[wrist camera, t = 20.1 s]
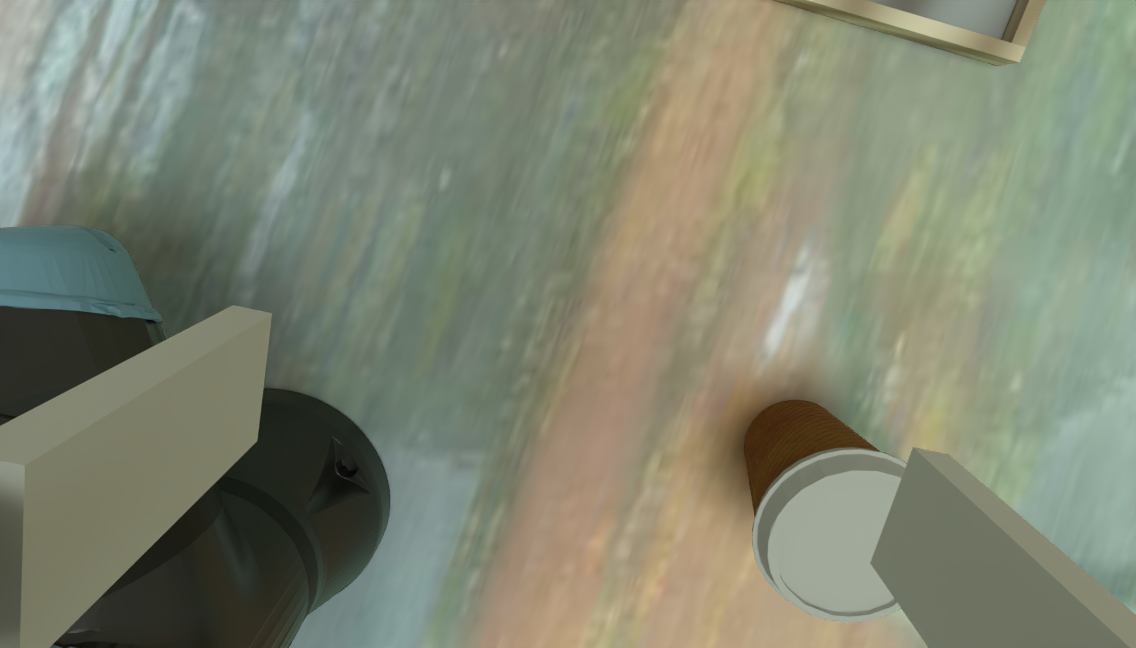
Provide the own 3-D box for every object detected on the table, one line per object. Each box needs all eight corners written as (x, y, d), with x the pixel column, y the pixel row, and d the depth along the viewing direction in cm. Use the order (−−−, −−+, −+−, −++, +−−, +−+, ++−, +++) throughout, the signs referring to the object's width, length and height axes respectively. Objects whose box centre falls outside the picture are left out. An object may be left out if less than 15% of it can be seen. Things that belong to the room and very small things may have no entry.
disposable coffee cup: (758, 353, 46) (812, 432, 34) (893, 408, 46) (992, 503, 35) (695, 479, 48) (725, 592, 37) (824, 529, 49) (894, 656, 37)
